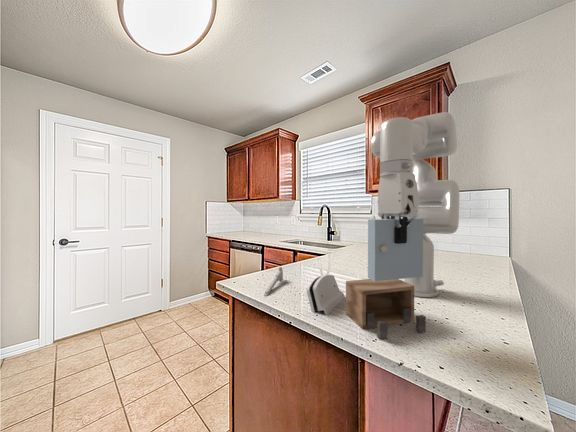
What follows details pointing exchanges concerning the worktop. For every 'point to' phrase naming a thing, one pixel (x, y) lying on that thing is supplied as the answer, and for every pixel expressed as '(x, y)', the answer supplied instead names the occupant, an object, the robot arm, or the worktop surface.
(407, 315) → the cabinet
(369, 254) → the door
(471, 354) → the worktop surface
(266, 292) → the caliper
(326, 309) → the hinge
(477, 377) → the worktop surface
